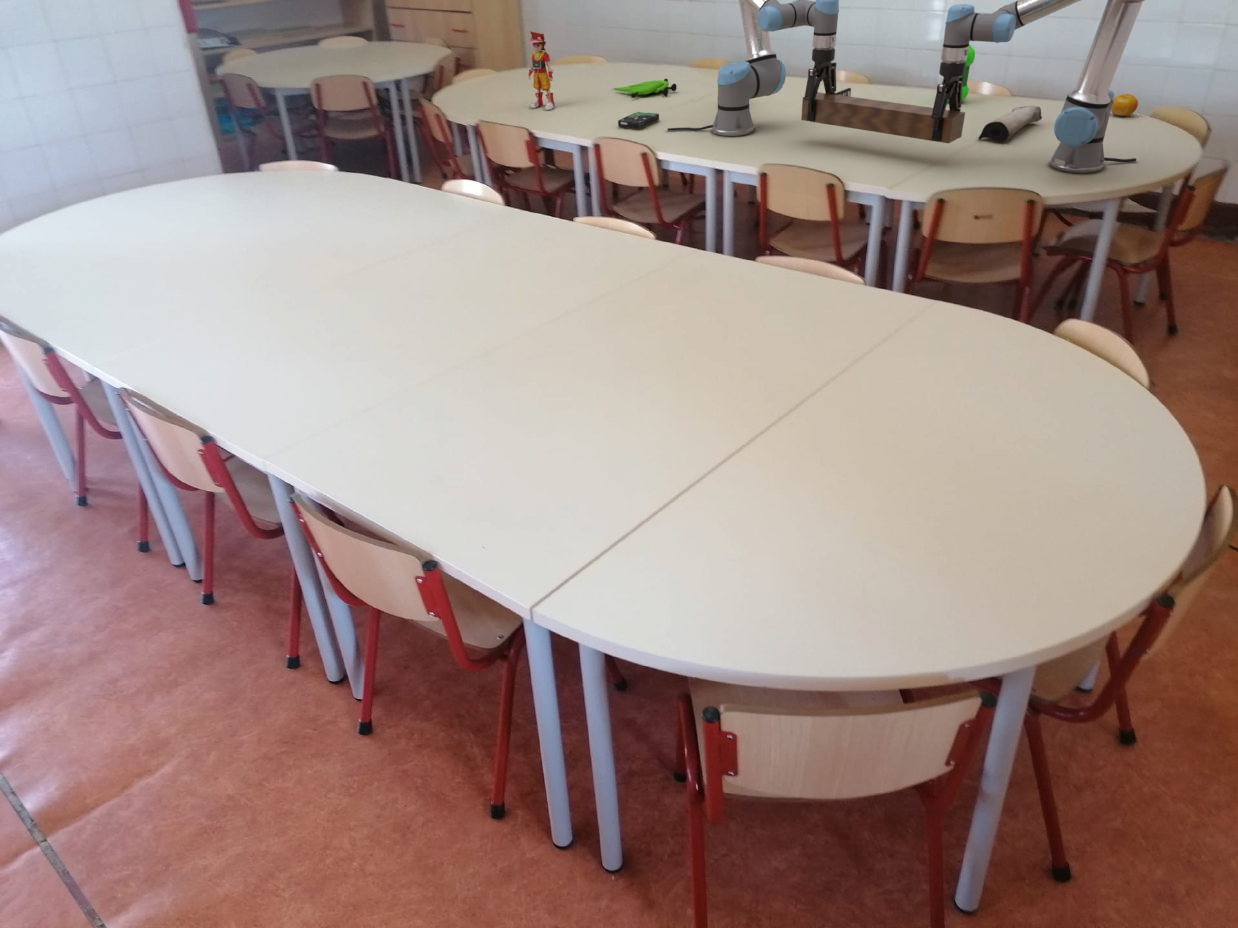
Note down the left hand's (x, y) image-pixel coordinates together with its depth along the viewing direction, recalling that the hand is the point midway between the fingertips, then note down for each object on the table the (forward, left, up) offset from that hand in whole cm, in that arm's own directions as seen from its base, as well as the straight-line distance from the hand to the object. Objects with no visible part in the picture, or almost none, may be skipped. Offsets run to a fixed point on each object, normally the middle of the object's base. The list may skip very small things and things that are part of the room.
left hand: (818, 117), depth 314 cm
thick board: (+23, -5, -1) cm, 23 cm away
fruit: (+91, +70, -9) cm, 115 cm away
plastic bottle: (+30, +71, -9) cm, 78 cm away
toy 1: (-127, +11, -9) cm, 127 cm away
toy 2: (-100, +49, -9) cm, 111 cm away
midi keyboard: (-10, +52, -9) cm, 53 cm away
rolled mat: (+59, +35, -9) cm, 69 cm away
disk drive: (-73, +1, -9) cm, 74 cm away
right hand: (+45, -10, 0) cm, 46 cm away
